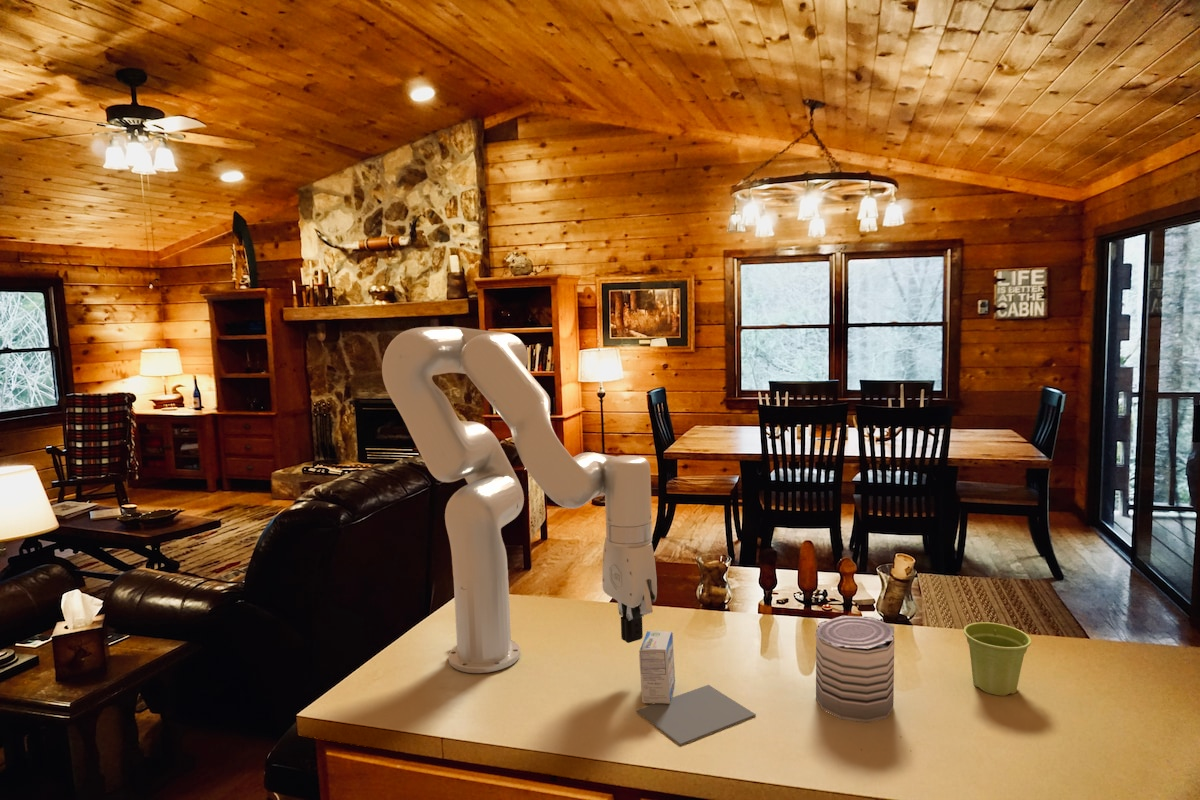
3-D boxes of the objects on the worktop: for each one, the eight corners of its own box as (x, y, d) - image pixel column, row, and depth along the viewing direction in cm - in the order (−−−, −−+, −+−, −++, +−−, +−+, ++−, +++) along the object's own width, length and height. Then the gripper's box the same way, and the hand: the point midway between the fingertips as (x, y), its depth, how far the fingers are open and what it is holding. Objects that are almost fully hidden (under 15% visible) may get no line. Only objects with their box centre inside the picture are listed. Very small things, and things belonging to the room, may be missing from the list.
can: (895, 728, 109) (897, 648, 108) (813, 716, 113) (813, 639, 111) (892, 690, 120) (893, 617, 118) (817, 681, 123) (817, 610, 122)
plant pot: (1026, 678, 122) (1028, 627, 121) (1032, 706, 114) (1033, 651, 113) (962, 669, 126) (963, 618, 125) (962, 695, 118) (963, 641, 117)
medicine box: (670, 705, 116) (667, 650, 116) (641, 704, 117) (638, 649, 117) (675, 682, 124) (673, 630, 123) (648, 681, 125) (645, 630, 124)
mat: (636, 711, 115) (636, 710, 115) (708, 686, 123) (708, 684, 123) (680, 745, 106) (680, 743, 106) (755, 716, 113) (755, 714, 113)
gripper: (586, 525, 129) (589, 629, 131) (635, 547, 116) (638, 662, 118) (623, 518, 133) (626, 619, 135) (675, 538, 120) (677, 649, 122)
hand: (632, 639), depth 126 cm, fingers closed
